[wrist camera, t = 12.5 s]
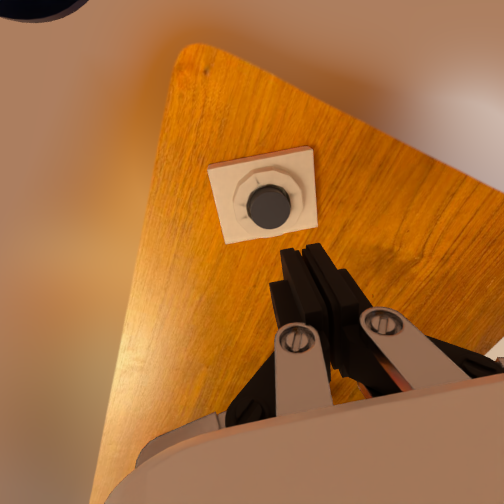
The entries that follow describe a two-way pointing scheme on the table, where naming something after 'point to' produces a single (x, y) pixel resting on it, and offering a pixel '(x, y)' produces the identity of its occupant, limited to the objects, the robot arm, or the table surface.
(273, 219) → the button
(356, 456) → the robot arm
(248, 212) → the block
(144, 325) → the table surface
